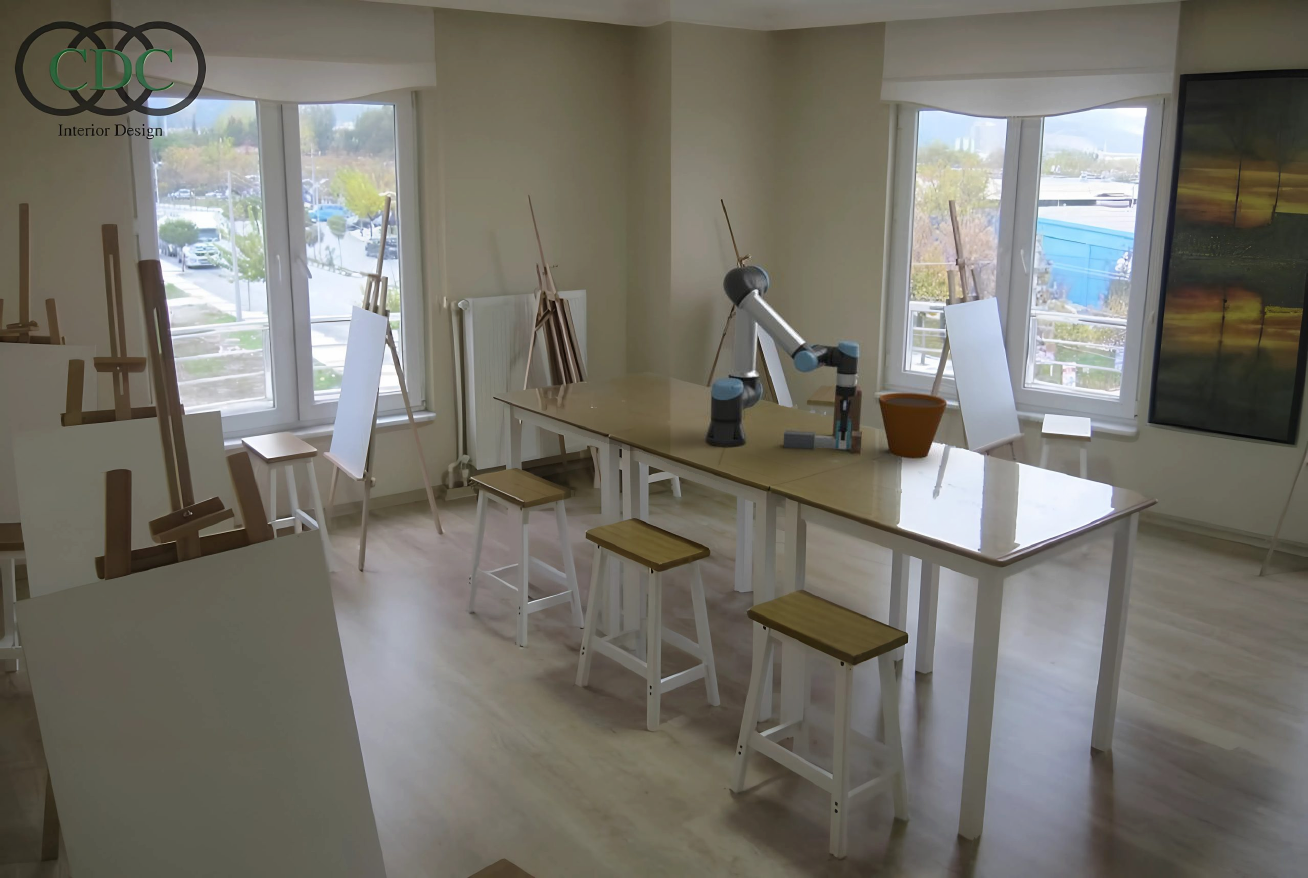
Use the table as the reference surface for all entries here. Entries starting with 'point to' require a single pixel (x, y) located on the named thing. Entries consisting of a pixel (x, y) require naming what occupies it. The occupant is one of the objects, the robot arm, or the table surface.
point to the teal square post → (833, 438)
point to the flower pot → (911, 422)
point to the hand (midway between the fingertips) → (842, 446)
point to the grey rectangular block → (799, 439)
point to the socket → (856, 442)
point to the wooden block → (853, 413)
